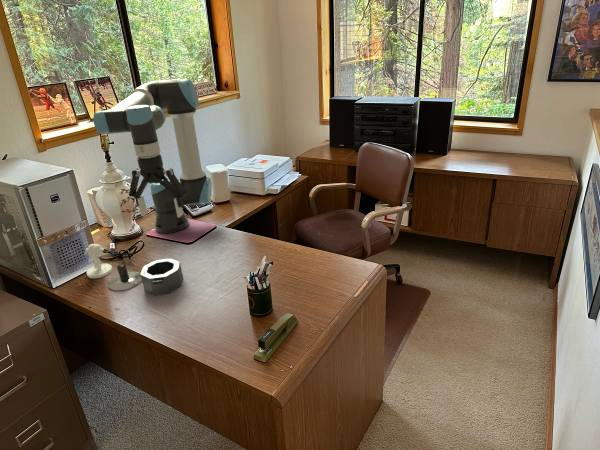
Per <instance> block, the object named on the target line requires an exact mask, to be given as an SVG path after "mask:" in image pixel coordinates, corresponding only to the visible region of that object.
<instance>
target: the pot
mask: <svg viewBox="0 0 600 450" xmlns="http://www.w3.org/2000/svg"><path fill="white" fill-rule="evenodd" d="M140 273H141V274H140V275H141V279H142V281H141V282H142V285H143V290H144V292H146V293H148V294H150V295H152V296H154V297H156V296H162V295H171V294H172V293H173V292H175V291H177V290H178V289H180V288H181V286H183V282H184V276H183V271H182V266H181V262H180V261H179V260H175V259H174V258H171V257H170V258H164V259H163V258H162V259H156V260H154V261H151V262H150V263H148V264H146V265H144V266H142V269H141V272H140Z"/></svg>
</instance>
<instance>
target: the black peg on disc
mask: <svg viewBox="0 0 600 450" xmlns="http://www.w3.org/2000/svg"><path fill="white" fill-rule="evenodd" d="M116 269H117V272H118V274H117V275H115V276H113V277H112V278H110V279H109V280H108V283H107V287H108V288H109V289H110V290H111V291H115V292H120V291H121V292H122V291H126V290H130V289H132V288H134V287H136V286H138V285H139V284H140V283H141V282H142V279H141V275H140V274H141V272H139V271H128V268H127V265H126V264H125V263H119V264H118V265H116Z"/></svg>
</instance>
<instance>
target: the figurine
mask: <svg viewBox="0 0 600 450" xmlns="http://www.w3.org/2000/svg"><path fill="white" fill-rule="evenodd" d="M104 250H105V248H103V245H100V244H98V243H90V244H89V245H88V247H86V248H85V252H84V256H85V255H87V254H88V256H89V259H88V263H90V264H91V267H90V268H89V269H87V270H86V276H87V277H88V278H90V279H99V278H100V279H101V278H103V277H106V276H107V275H109V274H111V272H112V271H113V266H112V264H110V263H105V262H102V261H101V259H100V257H101V256H102V255H104V254H105V253H104ZM92 262H93V264H92Z"/></svg>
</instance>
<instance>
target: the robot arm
mask: <svg viewBox="0 0 600 450" xmlns="http://www.w3.org/2000/svg"><path fill="white" fill-rule="evenodd" d="M199 105H200V103H199V96H198V91H197V88H196V87H195V84H194V83H193V81H192V80H191V79H188V78H176V79H167V80H166V79H163V80H153V81H149V82H146V83H144V84H142V85H139V86H138V87H136V88H135V89H133V90H132V91H131V92H130V94H129V96H128V97H127V98H125V99H124V100H122V101H120V102H119V103H117V104H116V105H115V106H113V107H111V108H110V109H107V110H99V111H96V112H94V114H93V116H92V117H93V118H92V120H93V121H92V122H93V125H94V128H95V130H96V131H97V133H99V134H102V135H104V134H105V135H111V134H120V133H131V139H132V143H133V146H134V151H135V156H137V157H136V160H137V165H138V168H135V169H133V170H131V174H132V177H131V178H132V179H131V181H130V182H131V183H130V185H129V186H130V187H129V190H128V191H129V192H128V197H129V198H131V197H133V198H134V199H135V203H136V207H138V208H139V211H140V216H141V217H146V216H147V214H148V210H147V205H146V201H145V196H144V195H142V194H143V192H144V191H145V189H146V187H147V185H148V184H149V185H150V187H149V188H150V195H151V198H152V201H153V207H154V210H155V219H154V220H155V221H154V227H155V228H154V229H155V231H156V233H157V232H158V233H160V234H172V233H178V232H180V231H183V230H184V229H186V228H187V227H188V226H189V219H188V217H187V215H186V213H185V212H184V210H183V207H184V206H189V205H190V206H191V205H192V206H194V205H205V204H209V202H210V201H211V198H212V192H213V189H212V188H213V187H212V186H213V185H212V183H213V182H212V179H211V177H208V176H207V173H206V172H205V171H203V169H202V164H201V156H200V150H199V145H198V138H197V137H198V136H197V133H196V132H197V131H196V125H195V122H194V121H195V120H194V115H195V114H196V112H197V110H196V108H198V107H199ZM164 110H165V111H167V115H168V116H169V117H171V120H172V123H173V130H174V134H175V140H176V146H177V150H178V156H179V161H180V166H181V167H180V168H181V174H180V175H179V179H178V177H177V176H176V175H175V171H174V169H173V168H168V169H165V168H164V167H163V166H164V162H163V157H162V154H160V153H161V149H160V145H159V139H158V134H157V131H158V130H159V129H160V128H162V127H163V126H164V124H165V122H166V113H165V111H164ZM140 176H142V180H141V181H140ZM139 181H140V185H139ZM138 185H139V187H138Z"/></svg>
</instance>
